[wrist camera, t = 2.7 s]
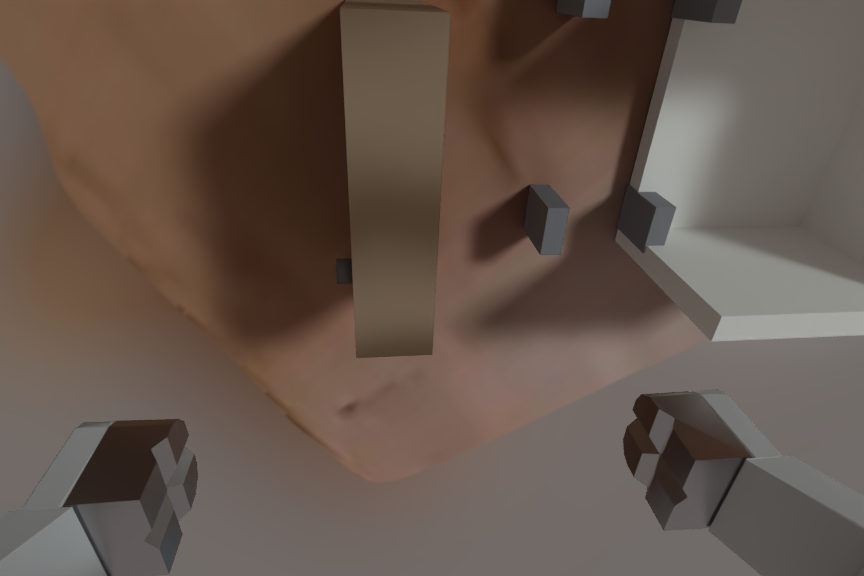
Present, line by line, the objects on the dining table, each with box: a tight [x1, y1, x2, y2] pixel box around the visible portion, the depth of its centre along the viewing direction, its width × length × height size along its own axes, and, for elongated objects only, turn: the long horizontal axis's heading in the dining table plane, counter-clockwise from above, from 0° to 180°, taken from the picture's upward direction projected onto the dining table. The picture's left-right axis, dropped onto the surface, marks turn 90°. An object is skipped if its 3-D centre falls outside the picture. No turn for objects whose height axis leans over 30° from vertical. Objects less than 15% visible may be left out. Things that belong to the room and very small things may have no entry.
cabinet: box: [523, 0, 864, 341], centre depth 20 cm, size 14×16×9 cm
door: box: [336, 0, 451, 358], centre depth 20 cm, size 12×4×8 cm, turn 178°
